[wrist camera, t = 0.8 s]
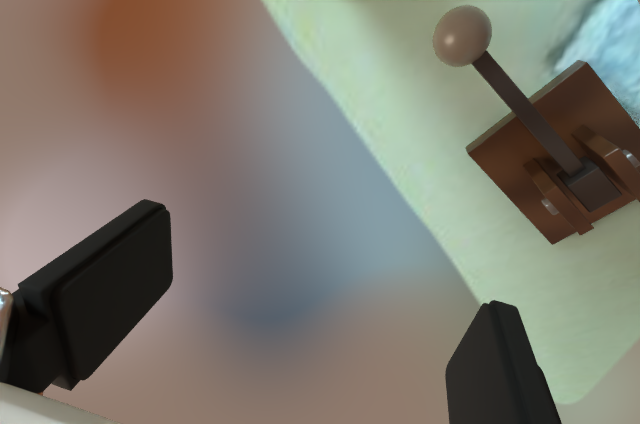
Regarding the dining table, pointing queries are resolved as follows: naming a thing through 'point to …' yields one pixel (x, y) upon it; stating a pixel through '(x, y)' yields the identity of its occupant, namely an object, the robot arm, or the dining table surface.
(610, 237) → the dining table surface
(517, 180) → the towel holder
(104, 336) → the robot arm
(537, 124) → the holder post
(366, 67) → the dining table surface
